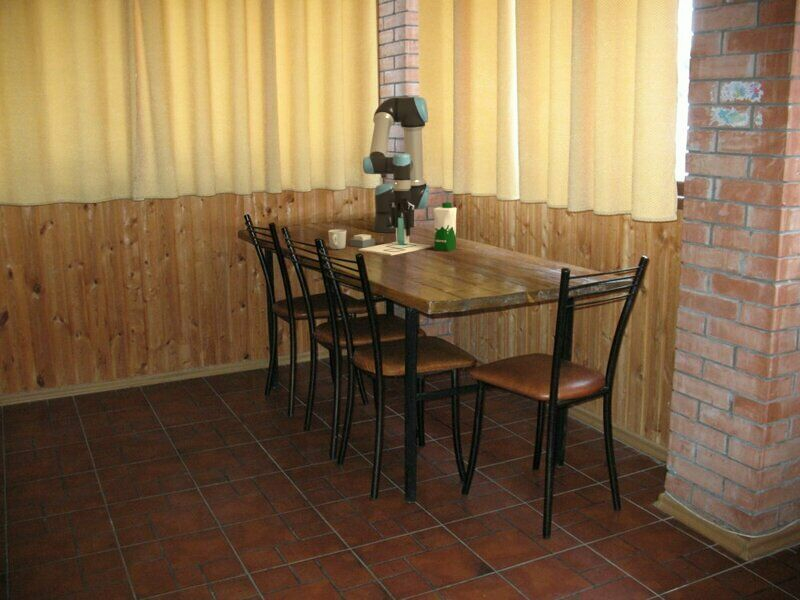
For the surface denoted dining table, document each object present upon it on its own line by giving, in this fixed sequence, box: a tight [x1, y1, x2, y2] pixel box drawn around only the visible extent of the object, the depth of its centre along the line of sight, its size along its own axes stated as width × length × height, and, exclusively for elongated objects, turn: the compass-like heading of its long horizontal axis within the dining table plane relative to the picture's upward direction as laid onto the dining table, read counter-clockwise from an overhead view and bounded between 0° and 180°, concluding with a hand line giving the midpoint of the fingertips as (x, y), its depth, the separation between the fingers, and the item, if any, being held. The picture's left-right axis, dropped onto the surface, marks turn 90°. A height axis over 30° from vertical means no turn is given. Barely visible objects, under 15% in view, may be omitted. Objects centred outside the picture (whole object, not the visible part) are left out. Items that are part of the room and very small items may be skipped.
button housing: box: [349, 237, 376, 248], centre depth 389 cm, size 8×8×3 cm
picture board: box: [358, 241, 432, 256], centre depth 379 cm, size 26×19×1 cm
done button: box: [353, 233, 372, 240], centre depth 389 cm, size 5×5×3 cm
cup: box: [327, 228, 347, 250], centre depth 380 cm, size 11×8×8 cm
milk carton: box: [433, 201, 458, 252], centre depth 374 cm, size 9×9×20 cm
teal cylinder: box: [398, 216, 407, 245], centre depth 384 cm, size 4×4×12 cm
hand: (402, 242), depth 385 cm, fingers closed on teal cylinder, 4 cm apart
